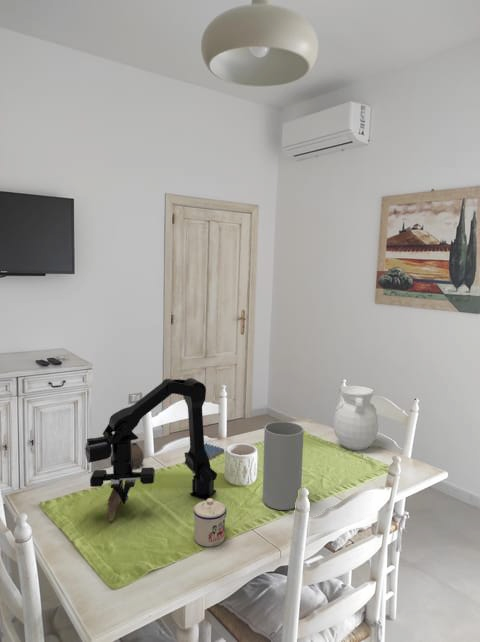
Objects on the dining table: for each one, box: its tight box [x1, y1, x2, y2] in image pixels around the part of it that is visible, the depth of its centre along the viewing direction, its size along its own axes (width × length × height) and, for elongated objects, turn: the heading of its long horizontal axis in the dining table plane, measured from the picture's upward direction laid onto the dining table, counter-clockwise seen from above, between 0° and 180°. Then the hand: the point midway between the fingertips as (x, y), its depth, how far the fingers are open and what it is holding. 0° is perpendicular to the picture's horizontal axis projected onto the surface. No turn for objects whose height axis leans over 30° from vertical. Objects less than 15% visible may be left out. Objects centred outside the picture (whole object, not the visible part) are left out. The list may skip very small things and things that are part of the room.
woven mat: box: [204, 443, 225, 461], centre depth 196 cm, size 10×11×2 cm
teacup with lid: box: [193, 497, 228, 547], centre depth 138 cm, size 12×9×12 cm
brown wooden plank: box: [106, 488, 122, 522], centre depth 150 cm, size 14×2×6 cm, turn 3°
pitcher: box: [333, 385, 379, 451], centre depth 205 cm, size 19×18×25 cm
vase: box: [131, 442, 145, 469], centre depth 183 cm, size 7×7×9 cm
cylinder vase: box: [262, 421, 305, 511], centre depth 157 cm, size 12×12×25 cm
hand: (124, 502), depth 149 cm, fingers closed
